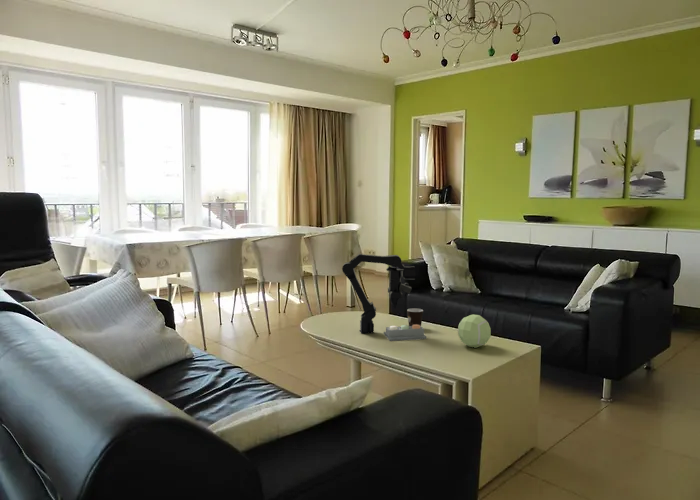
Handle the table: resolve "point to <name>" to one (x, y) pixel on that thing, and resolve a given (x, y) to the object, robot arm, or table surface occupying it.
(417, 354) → the table surface
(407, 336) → the grey compartment tray
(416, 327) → the terracotta button
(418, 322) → the coffee mug
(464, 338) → the decorative sphere
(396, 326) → the ivory button
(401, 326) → the sage button
